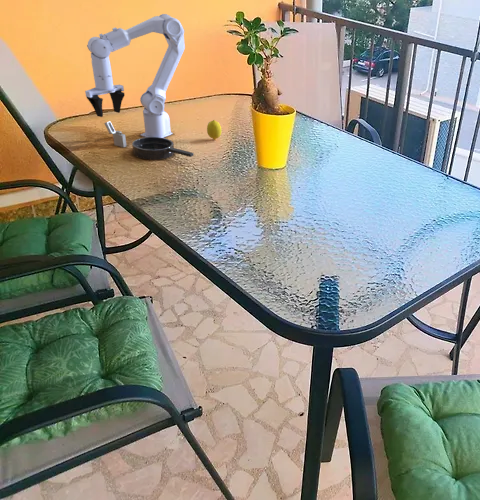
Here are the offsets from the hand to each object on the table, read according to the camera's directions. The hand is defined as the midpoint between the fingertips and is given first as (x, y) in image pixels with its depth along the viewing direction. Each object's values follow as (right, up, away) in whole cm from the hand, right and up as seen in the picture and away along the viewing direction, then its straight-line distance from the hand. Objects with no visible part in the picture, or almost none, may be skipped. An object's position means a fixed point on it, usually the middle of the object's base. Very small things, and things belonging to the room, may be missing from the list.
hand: (108, 114), depth 168 cm
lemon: (+33, -5, +18) cm, 38 cm away
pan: (+17, -14, -1) cm, 22 cm away
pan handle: (+28, -15, -5) cm, 32 cm away
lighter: (+2, -11, +1) cm, 11 cm away
